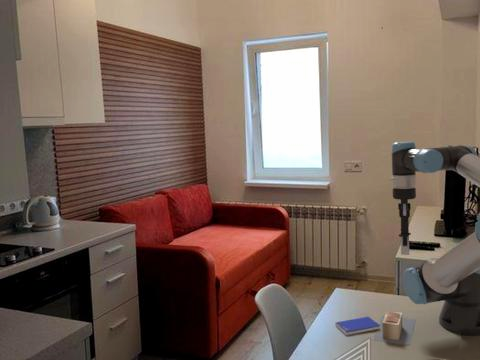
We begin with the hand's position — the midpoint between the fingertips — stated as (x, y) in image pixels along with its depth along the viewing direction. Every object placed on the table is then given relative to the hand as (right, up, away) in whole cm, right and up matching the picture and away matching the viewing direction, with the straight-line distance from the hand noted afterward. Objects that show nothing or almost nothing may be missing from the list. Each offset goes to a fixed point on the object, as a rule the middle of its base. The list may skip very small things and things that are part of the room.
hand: (405, 254), depth 164 cm
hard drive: (-18, -25, -4) cm, 30 cm away
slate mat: (-6, -24, -7) cm, 26 cm away
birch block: (-5, -21, -5) cm, 22 cm away
